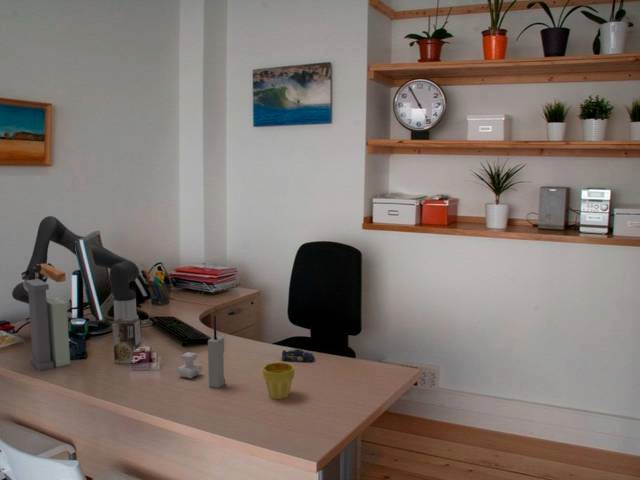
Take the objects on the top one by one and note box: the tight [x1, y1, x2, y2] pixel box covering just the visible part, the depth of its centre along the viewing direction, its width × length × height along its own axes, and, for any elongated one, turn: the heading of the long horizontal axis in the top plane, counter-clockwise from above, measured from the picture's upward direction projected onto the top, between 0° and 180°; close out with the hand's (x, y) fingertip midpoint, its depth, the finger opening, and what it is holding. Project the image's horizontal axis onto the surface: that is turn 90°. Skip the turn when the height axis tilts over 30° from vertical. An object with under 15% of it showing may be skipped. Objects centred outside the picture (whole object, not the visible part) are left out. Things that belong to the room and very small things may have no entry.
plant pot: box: [262, 361, 295, 400], centre depth 204 cm, size 10×10×10 cm
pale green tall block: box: [46, 296, 71, 368], centre depth 236 cm, size 5×12×24 cm, turn 40°
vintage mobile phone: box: [207, 315, 226, 389], centre depth 212 cm, size 4×5×25 cm
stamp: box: [176, 351, 203, 379], centre depth 222 cm, size 9×7×8 cm
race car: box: [280, 348, 318, 364], centre depth 240 cm, size 15×7×4 cm, turn 89°
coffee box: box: [111, 318, 143, 365], centre depth 237 cm, size 9×6×16 cm
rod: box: [37, 263, 67, 283], centre depth 234 cm, size 3×24×3 cm, turn 40°
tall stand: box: [25, 279, 55, 371], centre depth 232 cm, size 5×12×32 cm, turn 40°
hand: (45, 265), depth 239 cm, fingers closed on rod, 3 cm apart
